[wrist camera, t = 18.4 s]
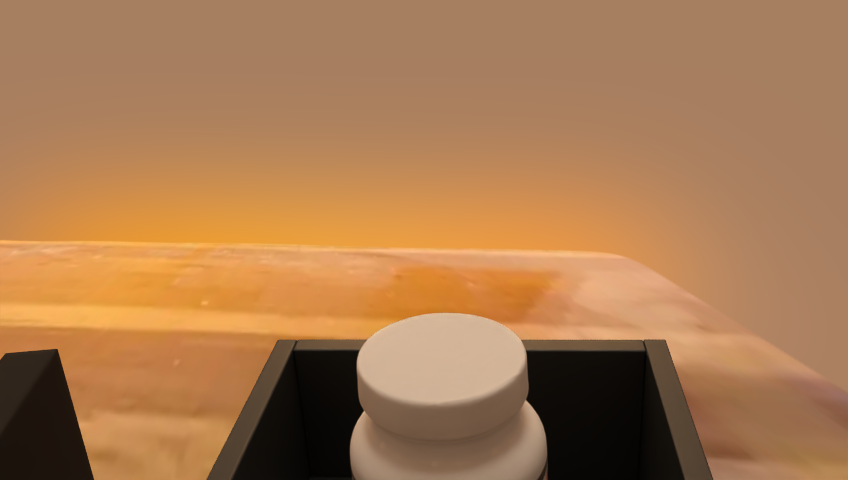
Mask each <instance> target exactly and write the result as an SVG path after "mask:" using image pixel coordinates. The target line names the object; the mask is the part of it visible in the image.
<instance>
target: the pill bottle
mask: <svg viewBox="0 0 848 480" xmlns="http://www.w3.org/2000/svg"><path fill="white" fill-rule="evenodd" d="M357 377H358V394H359V401H360V404H361V406H362V408H363V410H364V412H363V413H362V415H361V416H360V418H359V419H358V421H357V423H356V425H355V427H354V430H353V433H352V437H351V442H350V462H351V473H352V480H548V464H547V443H546V435H545V431H544V427H543V425H542V422H541V420H540V418H539V416H538V415H537V413H536V412H535V410H534V409H533V407H532V406H531V405H530V404H529V403H528V402H527V401H526V398H527V395H528V390H529V383H528V371H527V355H526V350H525V347H524V345H523V343H522V341H521V340H520V338H519V337H518V336H517V335H516V334H515V333H514V332H513V331H511V330H510V329H509V328H507V327H506V326H504V325H502V324H500V323H498V322H495V321H493V320H490V319H487V318H484V317H480V316H475V315H469V314H460V313H434V314H424V315H419V316H415V317H410V318H407V319H404V320H401V321H398V322H395V323H392V324H390V325H388V326H386V327H384V328H382V329H380V330H379V331H377V332H376V333H375V334H373V335H372V336H371V337H370V338H369V339H368V340H367V341H366V342H365V343H364V344H363V346H362V348H361V349H360V352H359V354H358V358H357Z"/></svg>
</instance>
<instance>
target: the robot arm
mask: <svg viewBox="0 0 848 480" xmlns="http://www.w3.org/2000/svg"><path fill="white" fill-rule="evenodd" d="M0 480H94V478H93V474H92V471H91V467H90V464H89V460H88V456H87V453H86V449H85V446H84V442H83V439H82V435H81V431H80V428H79V424H78V421H77V417H76V414H75V410H74V406H73V403H72V399H71V396H70V392H69V389H68V385H67V381H66V378H65V374H64V371H63V367H62V364H61V360H60V356H59V353H58V349H51V350H39V351H28V352H16V353H6V354H5V355H4V356H3V357H2V359H1V360H0Z"/></svg>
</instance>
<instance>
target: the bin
mask: <svg viewBox="0 0 848 480" xmlns="http://www.w3.org/2000/svg"><path fill="white" fill-rule="evenodd" d="M366 341H367V340H298V341H297V340H278V341H277V343H276V345H275V347H274V349H273V351H272V353H271V355H270V356H269V358H268V360H267V362H266V364H265V366H264V368H263V370H262V372H261V374H260V376H259V378H258V380H257V382H256V384H255V386H254V388H253V390H252V392H251V394H250V396H249V398H248V400H247V401H246V403H245V405H244V407H243V409H242V411H241V413H240V415H239V417H238V419H237V421H236V423H235V425H234V427H233V429H232V431H231V433H230V435H229V437H228V439H227V441H226V443H225V445H224V446H223V448H222V450H221V452H220V454H219V456H218V458H217V460H216V462H215V464H214V466H213V468H212V470H211V472H210V474H209V476H208V478H207V480H352V473H351V462H350V442H351V437H352V433H353V430H354V427H355V425H356V423H357V421H358V419H359V418H360V416H361V415H362V413H363V412H364V410H363V408H362V406H361V404H360V401H359V394H358V377H357V358H358V354H359V352H360V349H361V348H362V346H363V344H364V343H365V342H366ZM521 341H522V343H523V345H524V347H525V350H526V355H527V371H528V383H529V390H528V395H527V398H526V401H527V402H528V403H529V404H530V405H531V406H532V407H533V409H534V410H535V412H536V413H537V415H538V416H539V418H540V420H541V422H542V425H543V427H544V431H545V435H546V443H547V464H548V480H713V478H712V475H711V472H710V469H709V466H708V463H707V460H706V457H705V454H704V451H703V448H702V445H701V443H700V440H699V437H698V434H697V431H696V428H695V425H694V422H693V419H692V416H691V413H690V410H689V407H688V405H687V402H686V399H685V396H684V393H683V390H682V387H681V384H680V381H679V378H678V375H677V372H676V369H675V367H674V364H673V361H672V358H671V355H670V352H669V349H668V346H667V343H666V340H644V341H643V340H521Z"/></svg>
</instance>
